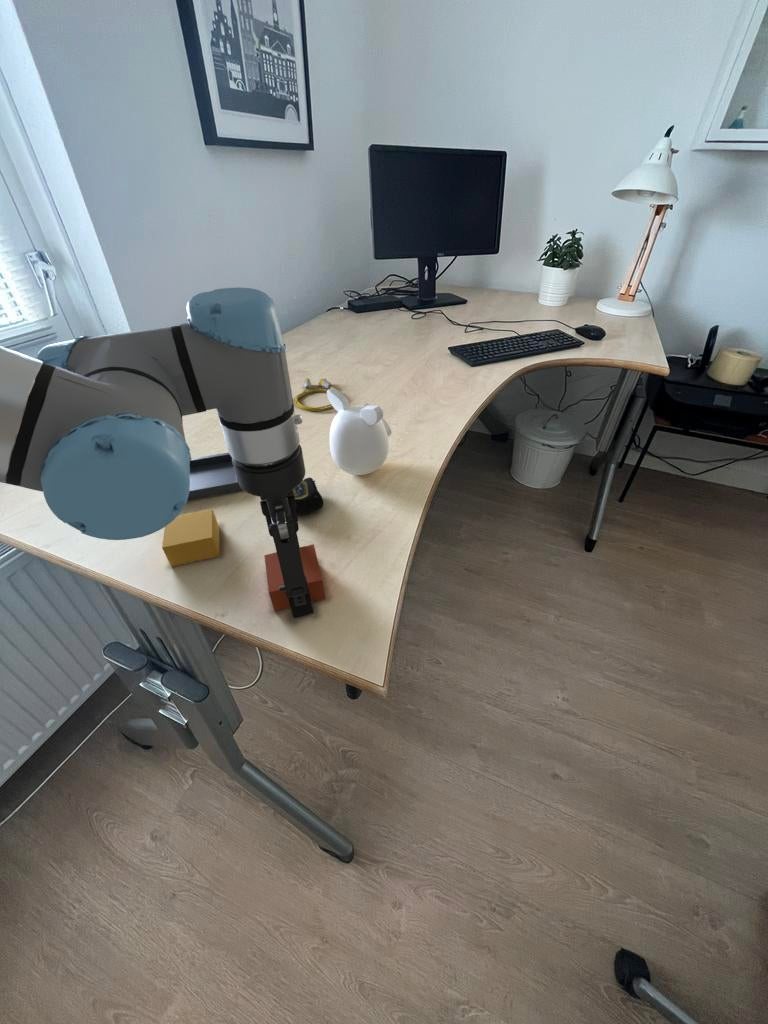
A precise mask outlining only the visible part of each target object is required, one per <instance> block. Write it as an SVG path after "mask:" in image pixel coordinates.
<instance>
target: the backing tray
mask: <svg viewBox="0 0 768 1024" xmlns="http://www.w3.org/2000/svg"><path fill="white" fill-rule="evenodd" d="M243 491H244V490H243V489H242V488H241V487H240V485H239V483H238V480H237V477H236V473H235V470H234V467H233V463H232V457H231V456H230V454H229V452H224V453H218V454H211V455H205V456H199V457H193V458H192V457H191V461H190V489H189V495H188V499H187V502H190V501H195V500H200V499H201V500H202V499H205V498H211V497H216V496H223V495H227V494H233V493H238V492H243Z"/></svg>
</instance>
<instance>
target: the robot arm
mask: <svg viewBox="0 0 768 1024" xmlns="http://www.w3.org/2000/svg"><path fill="white" fill-rule="evenodd" d="M186 312H187V317H186V319H187V322H183V323H180V324H179V325H171V326H166V327H159V328H149V329H143V330H136V331H127V332H120V333H112V334H103V335H97V336H93V335H89V336H88V335H81V336H78V337H76V338H75V339H71V340H66V341H62V342H57V343H52V344H51V343H50V344H48V345H46V346H44V347H42V348H41V349H40V350H39V351H38V354H37V356H36V358H35V357H32V356H30V355H26V354H23V353H21V352H18V351H16V350H13V349H10V348H7V347H4V346H2V345H0V483H2V484H6V485H10V486H11V485H12V486H15V487H21V488H24V489H28V490H32V491H38V492H42V493H43V496H44V499H45V502H46V504H47V507H48V508H49V509H50V511H51V512H52V514H53V515H54V516H55V517H56V518H57V519H59V520H60V521H61V522H63V523H64V524H66V525H69V526H70V527H71V528H73V529H75V530H78V531H80V533H81V534H83V535H86V536H87V537H91V538H95V539H100V540H108V541H126V540H133V539H140V538H143V537H146V536H150V535H153V534H155V533H157V532H160V530H162V529H165V526H167V525H168V524H170V523H171V522H172V521H173V520H174V519H175V518H176V517H177V516H178V515H180V513H182V510H183V509H184V507H185V506H186V505H188V504H187V503H188V501H187V499H188V495H189V489H190V461H191V459H192V455H191V452H190V451H191V449H190V447H189V445H188V442H187V441H186V435H185V430H184V424H183V417H184V416H191V415H194V414H201V413H204V412H207V411H211V410H216V411H217V416H218V421H219V425H220V428H221V431H222V435H223V438H224V441H225V445H226V448H227V453H229V454H230V456H231V457H232V463H233V467H234V470H235V473H236V477H237V480H238V483H239V485H240V487H241V488H242V489H243V491H244V492H245V493H246V494H248V495H252V496H255V497H259V498H260V500H259V504H260V509H261V513H262V515H263V516H264V517H265V521H266V525H267V529H268V534H269V536H270V537H272V539H273V543H274V546H275V551H276V552H277V556H278V560H279V564H280V568H281V572H282V576H283V581H284V584H282V585H279V589H280V592H282V591H285V594H286V595H287V597H288V600H289V604H290V607H291V608H290V611H291V615H292V619H295V618H300V617H303V616H307V615H311V614H314V613H315V612H314V607H313V602H311V598H310V593H309V587H308V584H307V579H306V576H305V575H304V570H303V565H302V561H301V556H300V551H299V547H300V541H299V537H298V533H297V532H298V531H299V530H300V526H299V517H298V516H299V515H297V513H296V511H295V510H296V508H297V506H296V501H295V496H294V493H293V489H294V488H296V487H297V486H298V485H299V484H300V483H301V482H302V481H303V480H304V479H305V478H306V477H305V476H306V465H305V460H304V455H303V448H302V446H301V444H300V442H301V439H300V433H299V429H298V425H302V424H303V417H302V416H301V414H296V411H295V402H294V398H293V391H292V385H291V379H290V373H289V366H288V360H287V353H286V348H287V347H286V346H287V345H286V344H285V341H284V338H283V333H282V330H281V325H280V321H279V320H280V319H279V315H278V311H277V307H276V304H275V302H274V299H272V297H270V296H269V295H268V294H267V293H266V292H265V291H262V290H259V289H256V288H251V287H223V288H216V289H213V290H210V291H203V292H199V293H196V295H193V296H192V297H190V298H189V299H188V301H187V303H186Z"/></svg>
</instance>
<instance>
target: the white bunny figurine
mask: <svg viewBox="0 0 768 1024" xmlns="http://www.w3.org/2000/svg"><path fill="white" fill-rule="evenodd" d="M327 390H328V391H327V392H326V396H327V399H328V401H329V404H331V406H333V409H334V410H335V411H336V412H337V413H336V414H335V416H334V418H333V420H332V422H331V424H330V429H329V450H330V455H331V458H332V460H333V462H334V464H335V465H336V466H337V467H338V468H339V469H340V470H342V471H343V472H344V473H347V474H349V475H354V476H365V475H368V474H372V473H374V472H376V471H377V470H378V469H381V467H382V466H383V465H384V463H385V462H386V461H387V458H388V456H389V450H390V445H389V444H390V443H389V437H390V436H392V429H391V427H390V425H389V424H388V422H387V420H386V419H385V418H384V411H383V408H381V406H380V405H370V404H369V403H368V402H365V403H364V404H362V405H351V406H350V404H349V400H348V399H347V397H346V396H345V395H344V394H343V393H342V392H341V391H339V390H338V389H336V388H335V387H332V388H331V389H327Z"/></svg>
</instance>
